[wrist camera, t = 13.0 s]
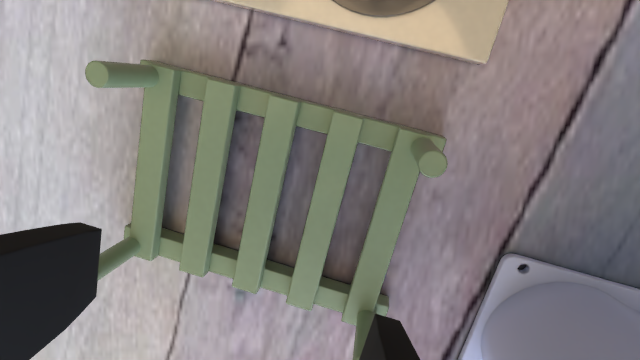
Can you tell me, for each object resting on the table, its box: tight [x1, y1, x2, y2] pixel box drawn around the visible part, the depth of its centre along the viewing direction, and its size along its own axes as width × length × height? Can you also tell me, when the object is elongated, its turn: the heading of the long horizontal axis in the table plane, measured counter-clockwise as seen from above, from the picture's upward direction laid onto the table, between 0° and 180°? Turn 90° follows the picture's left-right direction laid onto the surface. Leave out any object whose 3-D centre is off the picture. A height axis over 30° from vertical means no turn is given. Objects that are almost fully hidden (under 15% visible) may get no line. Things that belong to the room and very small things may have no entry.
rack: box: [85, 60, 447, 360], centre depth 17 cm, size 15×10×5 cm
